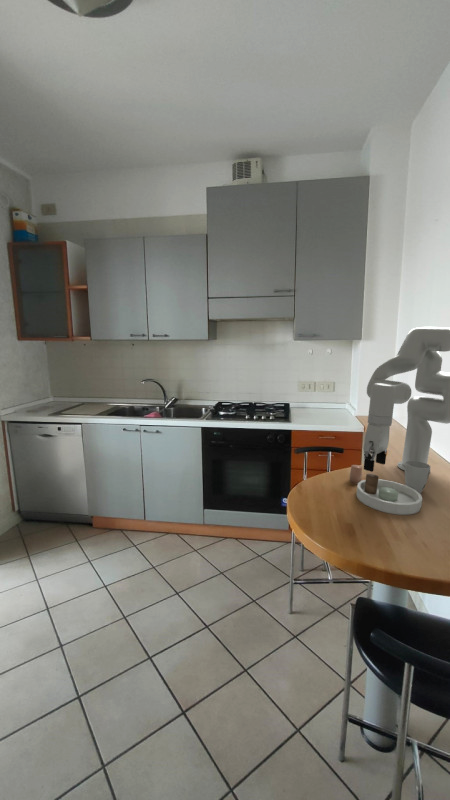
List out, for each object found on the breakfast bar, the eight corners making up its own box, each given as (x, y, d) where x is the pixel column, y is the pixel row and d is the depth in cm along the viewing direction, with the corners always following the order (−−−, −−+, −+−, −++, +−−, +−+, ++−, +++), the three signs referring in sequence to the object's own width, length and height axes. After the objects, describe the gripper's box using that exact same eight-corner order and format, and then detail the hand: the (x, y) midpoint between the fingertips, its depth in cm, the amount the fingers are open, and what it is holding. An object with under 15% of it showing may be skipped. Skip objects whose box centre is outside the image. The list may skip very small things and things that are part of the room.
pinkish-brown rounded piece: (352, 478, 141) (354, 464, 140) (362, 481, 138) (364, 466, 137) (347, 481, 138) (349, 466, 137) (357, 484, 135) (359, 469, 134)
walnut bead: (367, 488, 129) (369, 472, 128) (378, 492, 126) (380, 476, 125) (362, 491, 126) (364, 475, 125) (373, 495, 124) (375, 478, 123)
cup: (429, 496, 128) (434, 469, 126) (405, 493, 129) (409, 466, 127) (422, 487, 135) (426, 461, 134) (399, 484, 137) (402, 459, 135)
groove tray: (371, 483, 136) (372, 474, 136) (428, 502, 122) (430, 492, 122) (346, 498, 123) (347, 488, 122) (407, 521, 109) (409, 510, 108)
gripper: (379, 413, 130) (374, 458, 134) (357, 421, 119) (352, 470, 122) (400, 417, 125) (395, 463, 129) (380, 426, 113) (374, 476, 117)
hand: (374, 466), depth 125 cm, fingers open, 9 cm apart
